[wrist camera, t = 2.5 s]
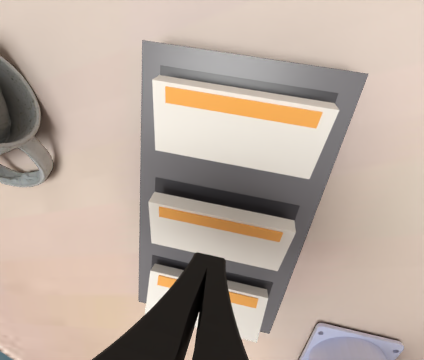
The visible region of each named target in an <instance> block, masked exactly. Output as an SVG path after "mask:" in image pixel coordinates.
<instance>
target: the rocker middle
mask: <svg viewBox="0 0 424 360" xmlns="http://www.w3.org/2000/svg"><path fill="white" fill-rule="evenodd" d="M148 204H149V217H150V230H151V243H153V244H158V245H162V246H167V247H171V248H176V249H180V250H185V251H189V252H193V253H197V252H199V253H203V254H208V255H212V256H217V257H221V258H224V259H225V260H229V261H234V262H238V263H243V264H247V265H251V266H256V267H260V268H265V269H269V270H274V271H278V270H279V267H280V265H281V263H282V261H283V259H284V257H285V255H286V253H287V250H288V248H289V246H290V244H291V242H292V240H293V238H294V236H295V233H296V229H295V221H294V220H290V219H285V218H280V217H276V216H271V215H266V214H261V213H256V212H251V211H246V210H241V209H236V208H232V207H227V206H222V205H217V204H212V203H207V202H202V201H197V200H193V199H188V198H183V197H178V196H173V195H168V194H163V193H158V192H154V193H153V195H152V197H151V198H150V200H149V201H148Z"/></svg>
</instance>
